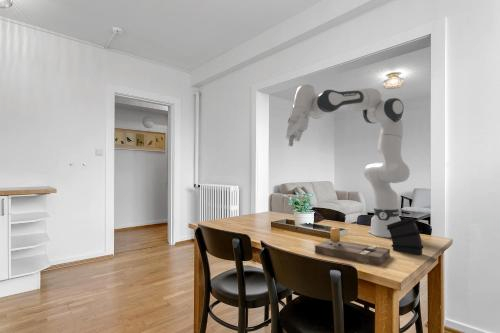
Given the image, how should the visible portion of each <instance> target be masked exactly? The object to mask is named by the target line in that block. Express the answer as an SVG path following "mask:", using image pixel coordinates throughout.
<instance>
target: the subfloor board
mask: <svg viewBox="0 0 500 333" xmlns="http://www.w3.org/2000/svg"><path fill="white" fill-rule="evenodd" d="M314 253H316V254H321V255H327V256H331V257H334V258H335V257H336V258H340V259H346V260H351V261H356V262H360V263H366V264H371V265H374V264H375V266H379V265H380V266H381V265H383V263H384V262H385V261H387V260H388V259H389V258H390V257H391V248H387V247H386V248H385V247H381V246H376V245H368V244H361V243H356V242H350V241H343V240H340V242H338V246H333V245H332V241H331V238H329V239H327V240H324V241H322V242H320V243H318V244H315V245H314Z"/></svg>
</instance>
